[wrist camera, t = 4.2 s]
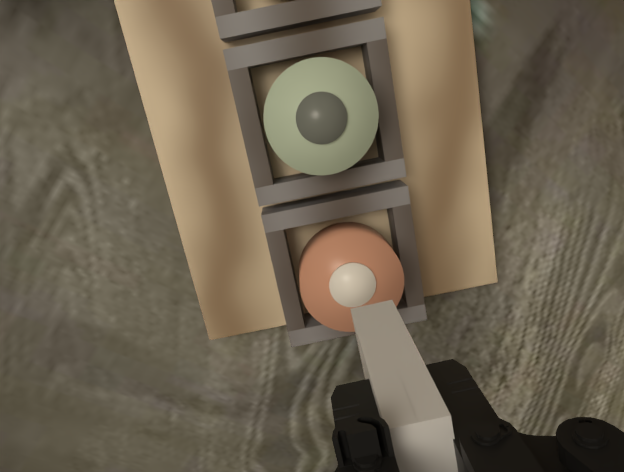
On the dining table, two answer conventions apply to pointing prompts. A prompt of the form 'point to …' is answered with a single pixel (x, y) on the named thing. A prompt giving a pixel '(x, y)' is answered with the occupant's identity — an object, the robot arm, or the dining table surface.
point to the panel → (300, 186)
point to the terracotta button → (347, 273)
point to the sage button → (321, 116)
